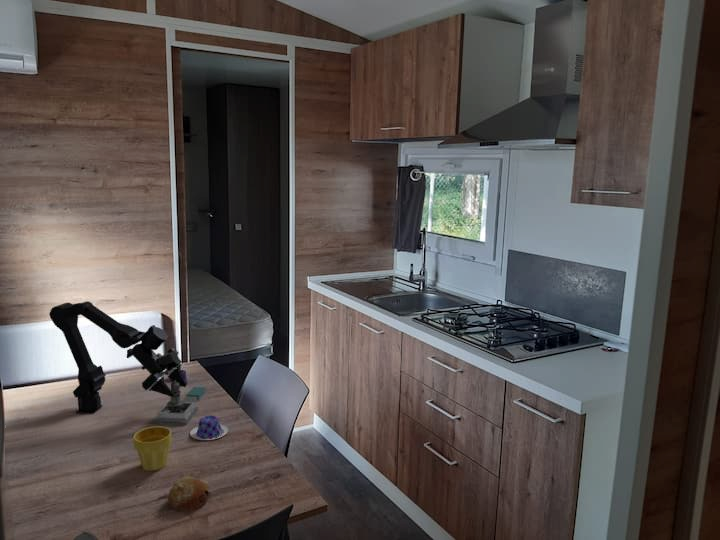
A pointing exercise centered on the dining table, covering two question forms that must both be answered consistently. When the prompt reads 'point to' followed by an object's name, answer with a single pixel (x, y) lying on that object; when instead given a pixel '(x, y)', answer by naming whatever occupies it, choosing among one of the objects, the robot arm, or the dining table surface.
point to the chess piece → (176, 399)
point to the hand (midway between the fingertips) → (179, 391)
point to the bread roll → (188, 494)
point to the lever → (183, 376)
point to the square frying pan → (189, 409)
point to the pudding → (208, 428)
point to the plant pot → (153, 446)
